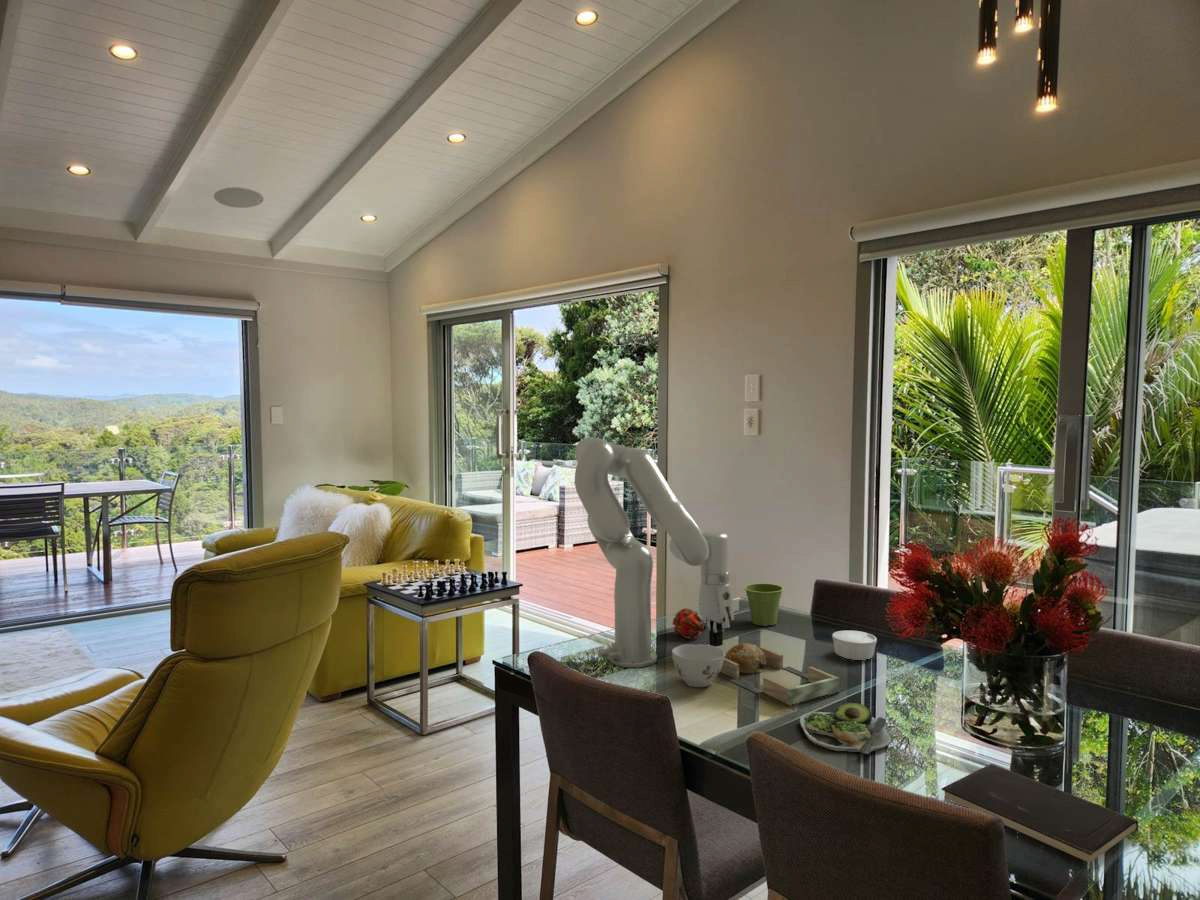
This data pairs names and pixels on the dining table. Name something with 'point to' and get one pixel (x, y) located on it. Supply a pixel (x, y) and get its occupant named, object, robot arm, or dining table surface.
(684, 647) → the teacup
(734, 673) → the beige shallow tray
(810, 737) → the avocado toast plate
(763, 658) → the bread roll
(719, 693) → the dining table surface
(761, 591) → the plant pot
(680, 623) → the dragon fruit
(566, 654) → the dining table surface
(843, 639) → the ramekin
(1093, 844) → the hardcover book
